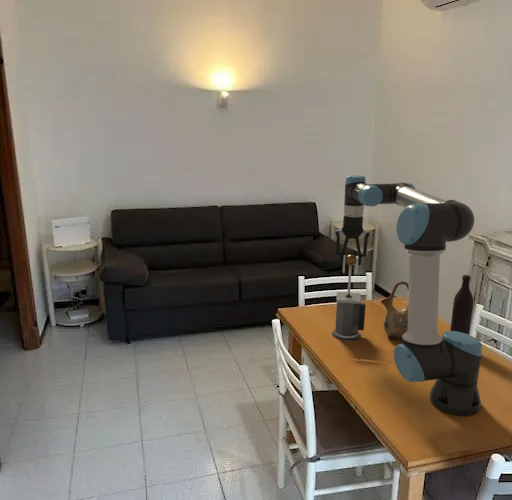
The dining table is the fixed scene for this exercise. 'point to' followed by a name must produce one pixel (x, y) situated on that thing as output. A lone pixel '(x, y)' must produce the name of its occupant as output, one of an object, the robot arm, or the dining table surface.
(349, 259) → the plunger
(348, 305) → the french press
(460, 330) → the wine bottle
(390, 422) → the dining table surface
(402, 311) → the ceramic vessel
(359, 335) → the trivet
